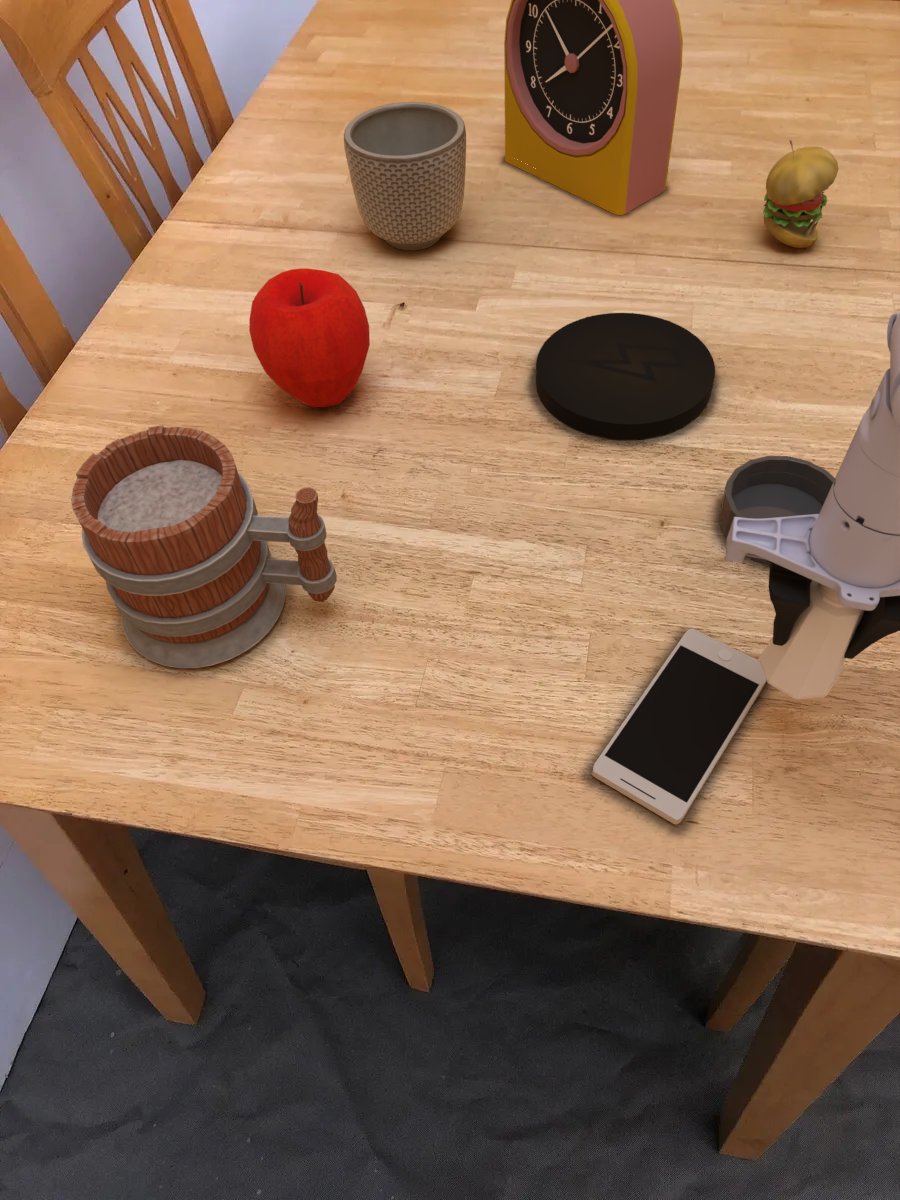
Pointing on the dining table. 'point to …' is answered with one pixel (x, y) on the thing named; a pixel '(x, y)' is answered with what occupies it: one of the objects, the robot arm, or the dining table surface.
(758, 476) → the bowl
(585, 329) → the wireless charger
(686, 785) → the smartphone
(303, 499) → the mug
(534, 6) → the alarm clock
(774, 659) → the salt shaker
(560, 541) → the dining table surface
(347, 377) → the apple
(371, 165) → the planter
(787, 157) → the hamburger
